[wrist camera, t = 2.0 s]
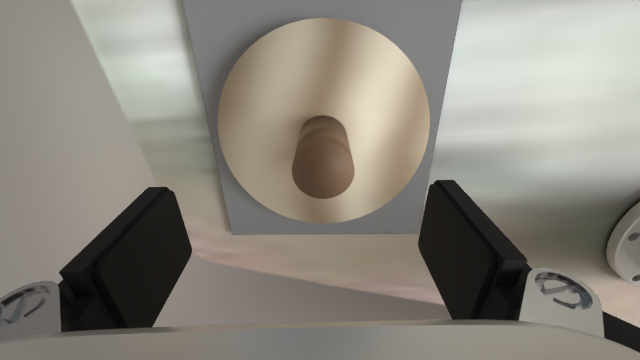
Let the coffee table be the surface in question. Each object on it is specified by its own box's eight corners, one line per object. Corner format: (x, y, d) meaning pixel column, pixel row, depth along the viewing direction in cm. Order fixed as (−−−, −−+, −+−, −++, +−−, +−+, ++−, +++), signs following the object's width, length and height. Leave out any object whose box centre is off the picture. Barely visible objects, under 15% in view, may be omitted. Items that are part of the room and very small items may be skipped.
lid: (441, 16, 16) (502, 7, 11) (409, 213, 23) (436, 271, 17) (203, 21, 16) (143, 15, 11) (239, 215, 23) (213, 272, 17)
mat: (462, -25, 16) (467, -27, 15) (415, 228, 24) (418, 233, 24) (182, -18, 16) (178, -20, 15) (233, 230, 24) (231, 234, 24)
